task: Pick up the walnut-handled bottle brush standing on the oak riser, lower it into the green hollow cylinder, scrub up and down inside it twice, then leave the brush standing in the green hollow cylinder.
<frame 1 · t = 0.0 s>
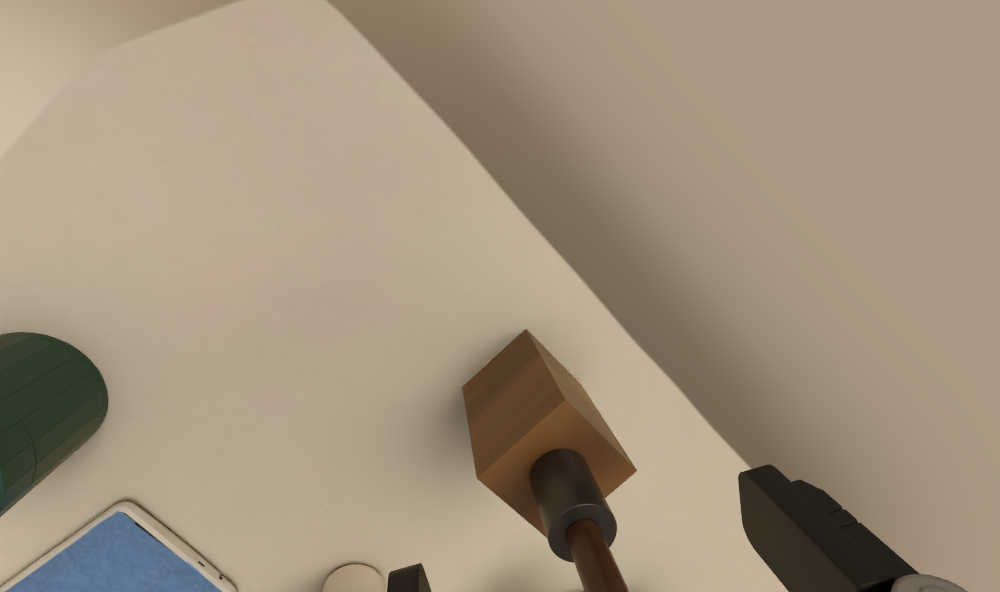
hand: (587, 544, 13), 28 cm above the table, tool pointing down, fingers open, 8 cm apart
green hollow cylinder: (35, 393, 37), on the table
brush: (558, 474, 31), point 12 cm above the table, touching riser
drinking glass: (355, 583, 46), on the table
riser: (522, 385, 43), on the table
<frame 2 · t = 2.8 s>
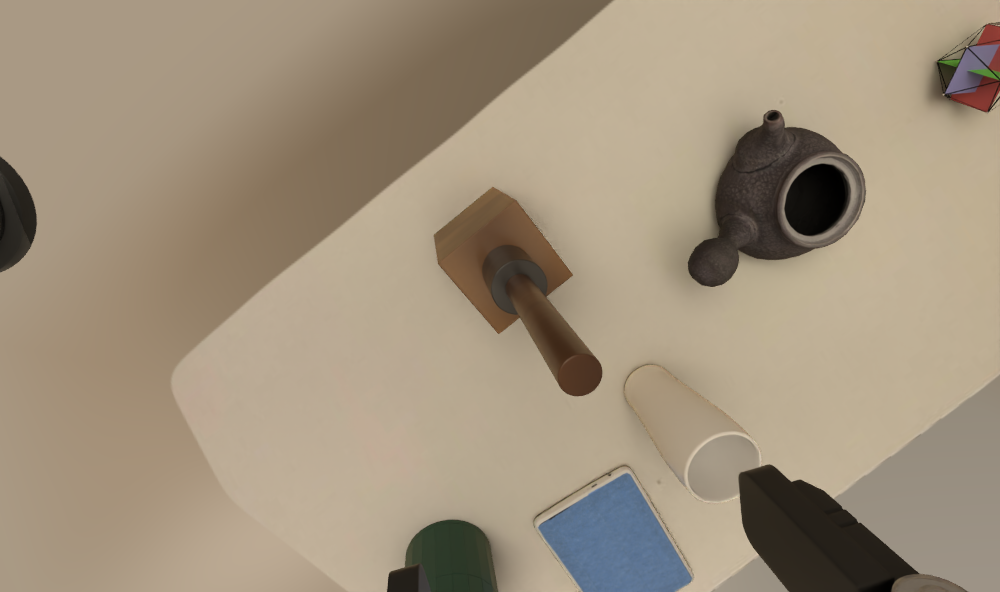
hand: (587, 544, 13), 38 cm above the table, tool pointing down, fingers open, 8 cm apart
green hollow cylinder: (448, 555, 58), on the table
teapot: (731, 202, 51), on the table
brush: (507, 269, 37), point 12 cm above the table, touching riser
drinking glass: (645, 384, 56), on the table
geometric puzzle: (951, 73, 51), on the table
riser: (486, 240, 49), on the table
tablet: (614, 545, 61), on the table
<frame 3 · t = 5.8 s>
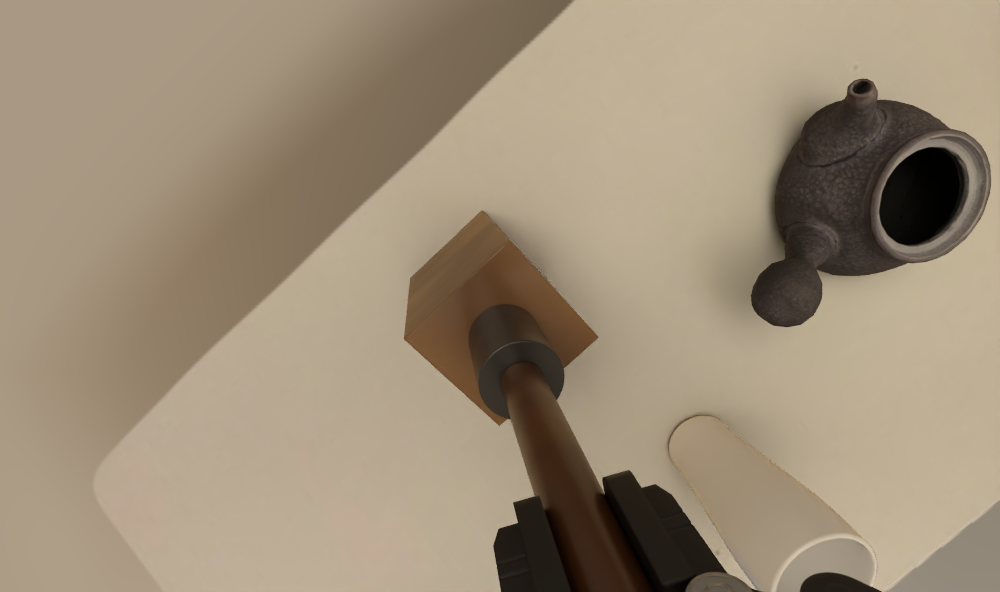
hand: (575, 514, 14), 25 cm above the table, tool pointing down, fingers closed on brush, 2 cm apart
teapot: (795, 203, 39), on the table
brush: (504, 338, 26), point 12 cm above the table, touching gripper, riser
drinking glass: (694, 439, 44), on the table
riser: (479, 279, 37), on the table
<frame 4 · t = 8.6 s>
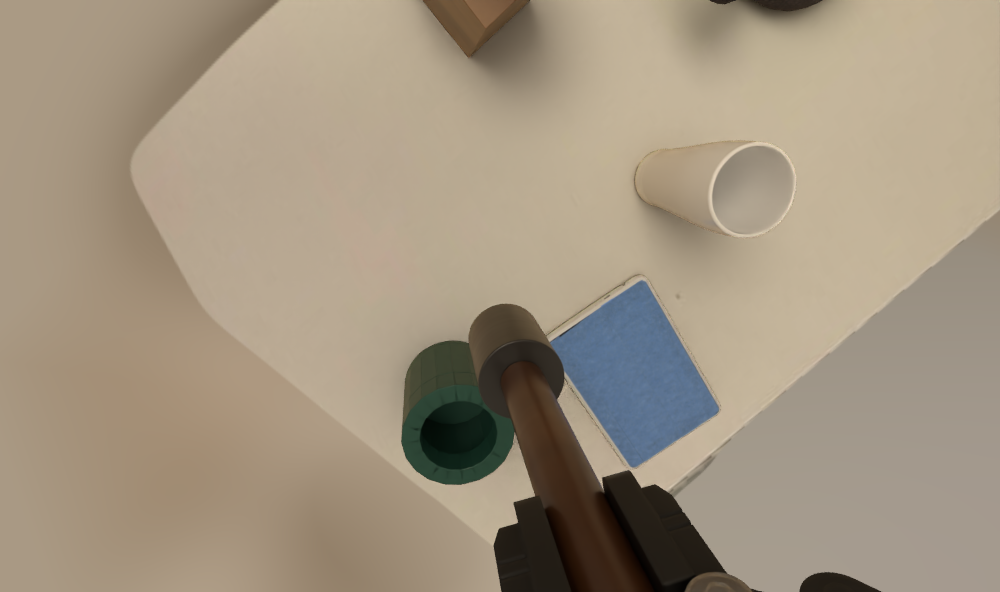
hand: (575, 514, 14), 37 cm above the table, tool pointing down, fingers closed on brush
green hollow cylinder: (451, 383, 53), on the table
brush: (504, 337, 26), point 24 cm above the table, touching gripper
drinking glass: (658, 177, 50), on the table
tablet: (632, 373, 56), on the table
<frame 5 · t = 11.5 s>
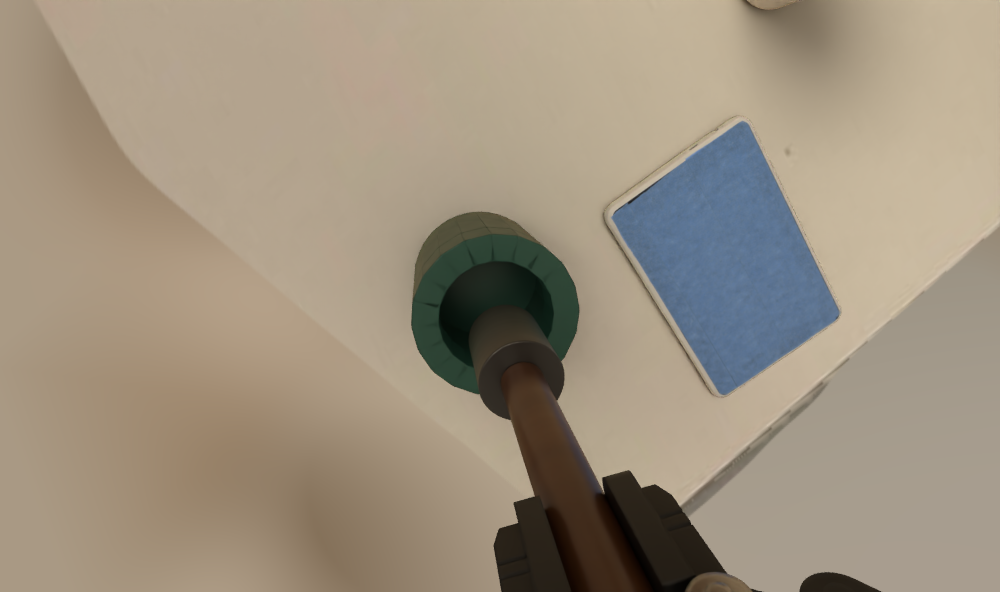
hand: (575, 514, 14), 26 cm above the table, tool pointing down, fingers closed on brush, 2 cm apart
green hollow cylinder: (479, 275, 39), on the table
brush: (504, 338, 26), point 13 cm above the table, touching gripper
tablet: (722, 264, 41), on the table
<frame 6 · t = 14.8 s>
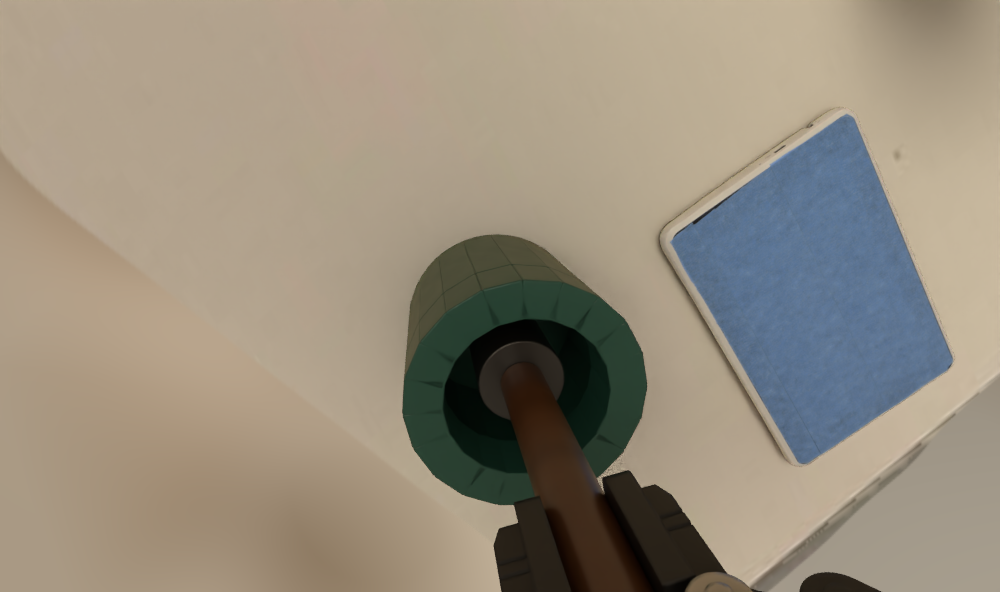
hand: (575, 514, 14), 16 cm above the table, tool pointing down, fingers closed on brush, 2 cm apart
green hollow cylinder: (494, 317, 29), on the table
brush: (504, 338, 26), point 3 cm above the table, touching gripper
tablet: (806, 299, 32), on the table
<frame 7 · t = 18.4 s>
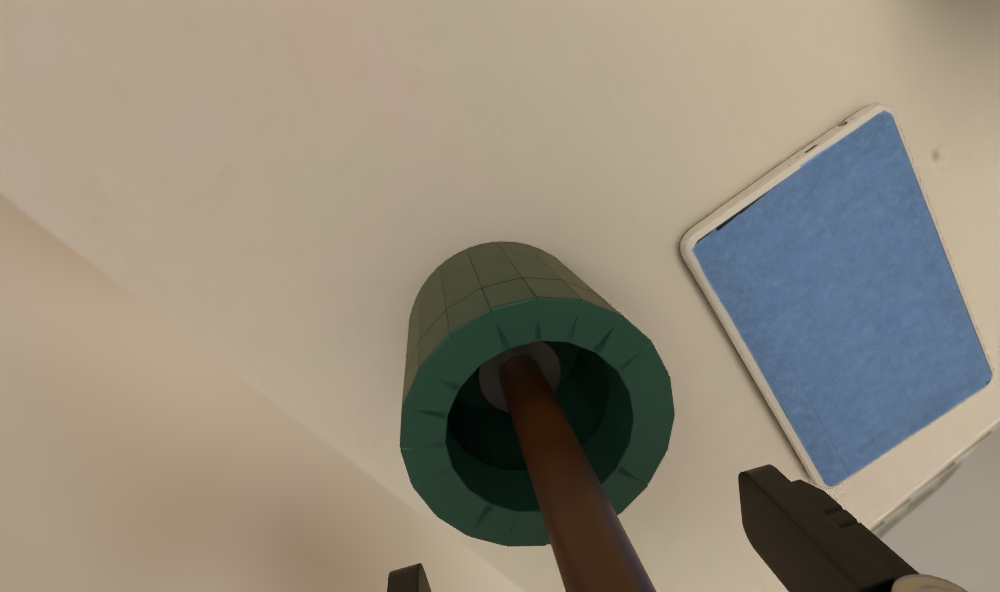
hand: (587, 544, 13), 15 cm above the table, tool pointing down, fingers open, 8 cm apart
green hollow cylinder: (500, 330, 27), on the table
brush: (503, 334, 27), point 1 cm above the table, touching green hollow cylinder
tablet: (836, 310, 30), on the table
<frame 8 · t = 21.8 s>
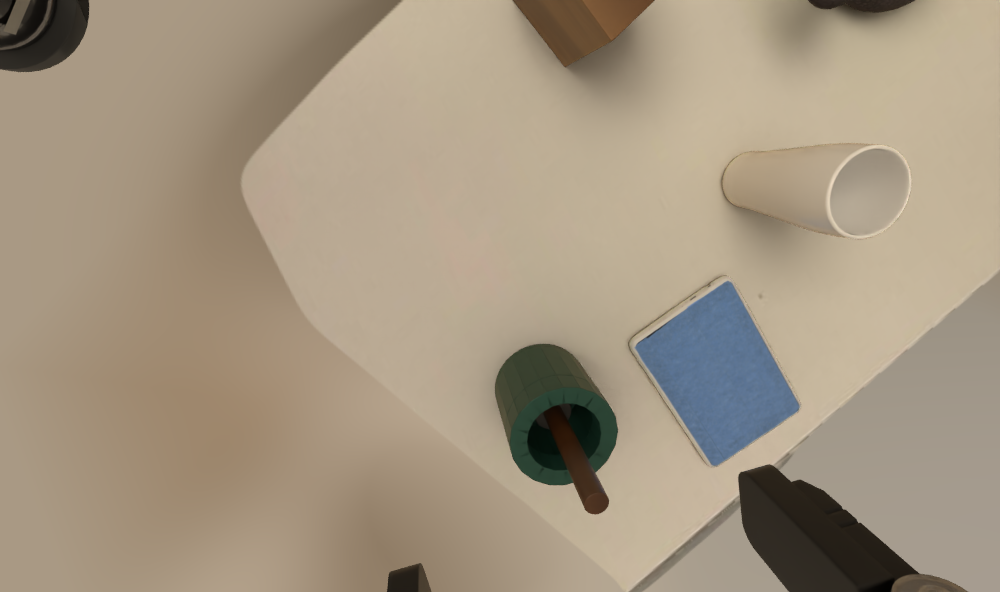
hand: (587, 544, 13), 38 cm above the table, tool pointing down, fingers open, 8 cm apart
green hollow cylinder: (539, 386, 54), on the table
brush: (541, 388, 53), point 1 cm above the table, touching green hollow cylinder
drinking glass: (743, 179, 51), on the table
riser: (569, 4, 44), on the table
tablet: (714, 372, 57), on the table
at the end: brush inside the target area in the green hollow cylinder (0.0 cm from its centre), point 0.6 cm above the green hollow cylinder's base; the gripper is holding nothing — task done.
